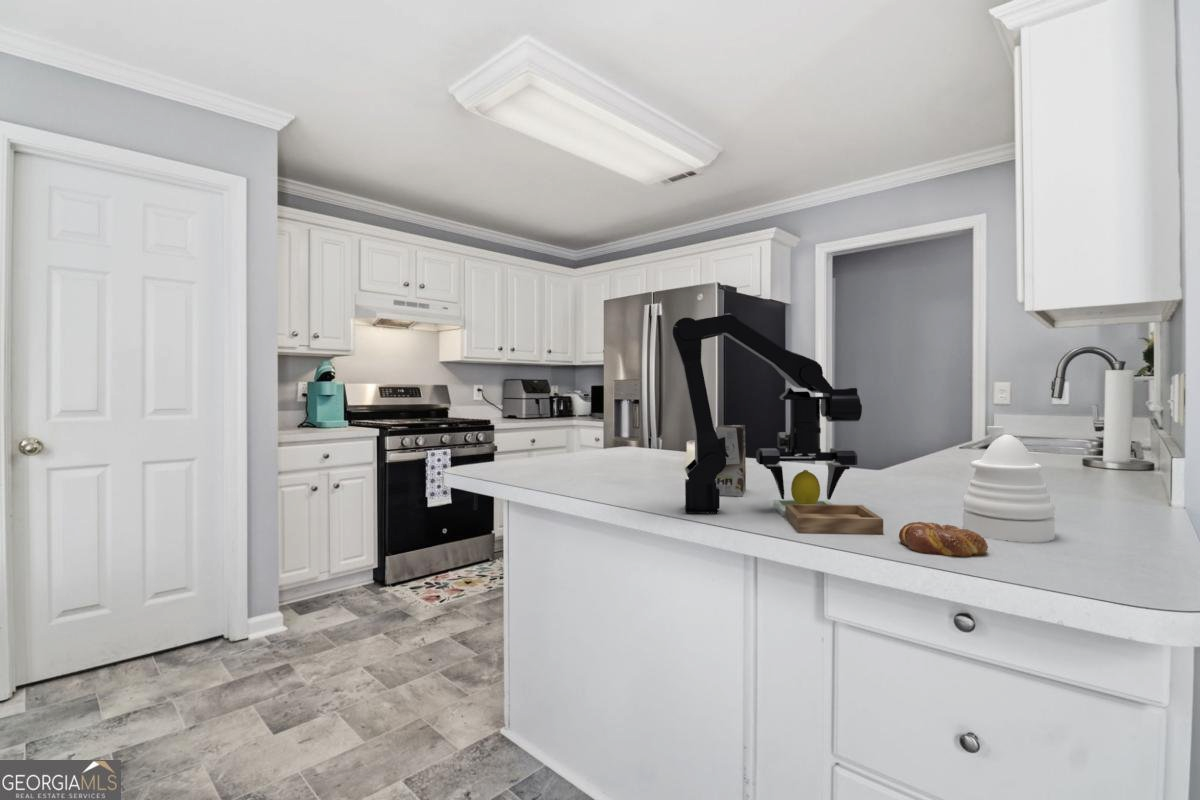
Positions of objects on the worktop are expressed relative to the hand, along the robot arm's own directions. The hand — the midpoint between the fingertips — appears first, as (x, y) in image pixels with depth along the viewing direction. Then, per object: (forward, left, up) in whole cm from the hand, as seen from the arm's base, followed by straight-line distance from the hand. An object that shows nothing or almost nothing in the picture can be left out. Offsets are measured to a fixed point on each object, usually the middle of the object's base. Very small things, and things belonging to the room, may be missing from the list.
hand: (805, 499), depth 119 cm
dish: (0, 0, -2) cm, 2 cm away
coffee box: (-13, +20, -3) cm, 24 cm away
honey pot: (+30, -15, -3) cm, 34 cm away
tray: (+2, -12, -2) cm, 12 cm away
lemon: (0, 0, -2) cm, 2 cm away
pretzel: (+15, -26, -3) cm, 30 cm away
